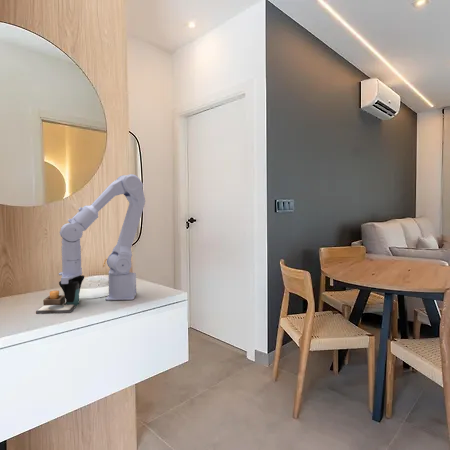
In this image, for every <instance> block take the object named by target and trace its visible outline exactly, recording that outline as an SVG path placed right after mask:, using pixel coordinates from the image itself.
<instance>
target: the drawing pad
mask: <svg viewBox="0 0 450 450" xmlns="http://www.w3.org/2000/svg"><path fill="white" fill-rule="evenodd" d="M76 307H77V306H75V305H66V304H63V305H42V306H41V307H39V308H38V309H37V310H36V311H35V314H36V315H38V314H41V315H42V314H43V315H44V314H70V313H71V312H73V310H74V309H76Z"/></svg>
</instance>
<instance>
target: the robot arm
mask: <svg viewBox="0 0 450 450" xmlns="http://www.w3.org/2000/svg"><path fill="white" fill-rule="evenodd" d="M143 189H144V184H143V182H142V181H141V179H140V178H139V177H138V175H136V174H133V173H130V174H126V175H125V174H123V175H120V176H118V177H117V178H116V179H115V180H113V181H112V182H111V183H110V184H109V185H108V186H107V187H106V188H105V189H104V191H102V192H101V194H100V195H99V196H98V197H97V198H96V199H95V200H94V201H93V202H92V203H91V205H84V206H83V207H82V206H79V208H78V209H77V210H78V211H77V213H76V214H75V215H74V216H72V218H68V219H67V222H68V223H65V224H63V225H62V226H61V228H60V230H59V235H60V237H61V266H62V267H61V268H62V269H61V270H62V271H60V272H59V273H58V276H61V278H60V280H59V281H58V284H59V286H60V288H61V290H62V292H63V295H65V302H66V301H67V302H74V299H75V292H76V287H77V284H78V283H79V294H80V291H81V287H82V283H83V282H84V279H85V275H83V267H82V246H81V238H82V237H83V234H84V232H85V231H86V230H87V229H89V228H90V226H91V225H92V224H93V223H95V221H96V220H97V219H98V218H99V212H100V211H101V210H103V208H104V207H105V206H106V205H107V204H108V203H109V202H110V201H112V199H113V198H115V197H116V196H120V195H123V196H124V197H125V198H126V200H127V202H129V203H128V207H127V210H126V214H125V216H124V219H123V224H122V227H121V229H120V233H119V236H118V239H117V242H116V245H115V246H114V247H113V249H112V251H111V253H110V254H109V255H108V257H107V258H106V259H107V260H106V264H107V267H108V268H109V270H108V295H107V296H106V298H105V300H106V301H128V300H132V301H133V300H134V299H135V298H136V296H137V274H136V272H131V269H132V264H133V263H132V256H133V253H132V252H133V251H132V246H133V243H134V240H135V236H136V234H137V230H138V228H139V224H140V220H141V218H142V214H143V210H144V207H145V204H146V198H145V194H144V190H143Z"/></svg>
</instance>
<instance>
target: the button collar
mask: <svg viewBox="0 0 450 450" xmlns="http://www.w3.org/2000/svg"><path fill="white" fill-rule="evenodd" d="M65 304H66V298H65V295H64V294H62V295H60V294H59V299H50V295H48V296H47V297H46V298H44V299H43V305H42V306H44V305H65Z"/></svg>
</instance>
